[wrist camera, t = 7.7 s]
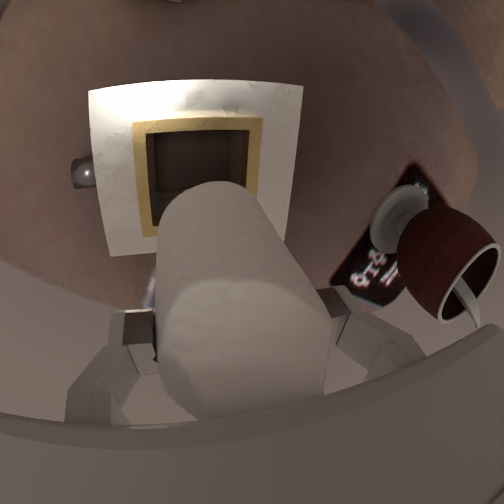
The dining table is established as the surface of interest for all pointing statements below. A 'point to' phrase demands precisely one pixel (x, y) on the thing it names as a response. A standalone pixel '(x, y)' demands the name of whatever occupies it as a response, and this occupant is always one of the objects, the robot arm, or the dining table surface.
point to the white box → (186, 119)
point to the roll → (234, 308)
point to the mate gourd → (436, 252)
